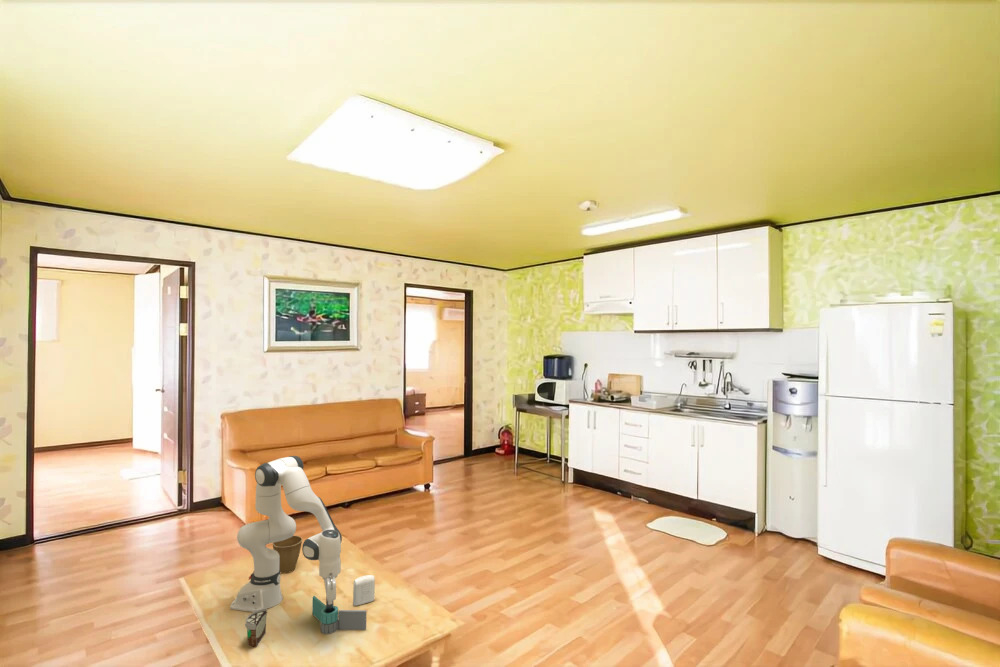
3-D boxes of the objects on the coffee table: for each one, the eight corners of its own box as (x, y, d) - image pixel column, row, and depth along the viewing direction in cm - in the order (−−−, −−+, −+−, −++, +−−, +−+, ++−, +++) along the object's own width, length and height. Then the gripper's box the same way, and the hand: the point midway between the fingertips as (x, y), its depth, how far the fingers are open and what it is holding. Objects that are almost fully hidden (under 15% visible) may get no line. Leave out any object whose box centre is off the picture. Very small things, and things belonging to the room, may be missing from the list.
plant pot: (266, 571, 261) (267, 542, 262) (292, 561, 274) (292, 533, 274) (282, 579, 253) (282, 549, 253) (307, 568, 265) (307, 539, 265)
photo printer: (372, 597, 236) (373, 571, 236) (375, 601, 233) (376, 575, 233) (351, 603, 231) (352, 577, 231) (354, 607, 227) (354, 581, 227)
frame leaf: (318, 634, 206) (318, 615, 206) (324, 624, 213) (324, 606, 213) (363, 634, 206) (363, 615, 206) (368, 624, 213) (368, 606, 213)
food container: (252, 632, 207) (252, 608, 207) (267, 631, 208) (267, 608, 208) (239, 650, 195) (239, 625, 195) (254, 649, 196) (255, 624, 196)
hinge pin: (325, 617, 208) (326, 589, 208) (326, 613, 211) (326, 586, 211) (333, 616, 209) (333, 588, 209) (333, 612, 211) (333, 585, 212)
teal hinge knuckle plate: (340, 628, 210) (340, 610, 210) (325, 635, 205) (325, 616, 205) (320, 610, 223) (320, 593, 223) (305, 616, 218) (306, 599, 218)
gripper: (339, 578, 202) (339, 611, 201) (335, 558, 220) (335, 588, 220) (323, 581, 199) (323, 615, 199) (321, 560, 218) (320, 591, 218)
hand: (329, 601), depth 210 cm, fingers closed on hinge pin, 3 cm apart
